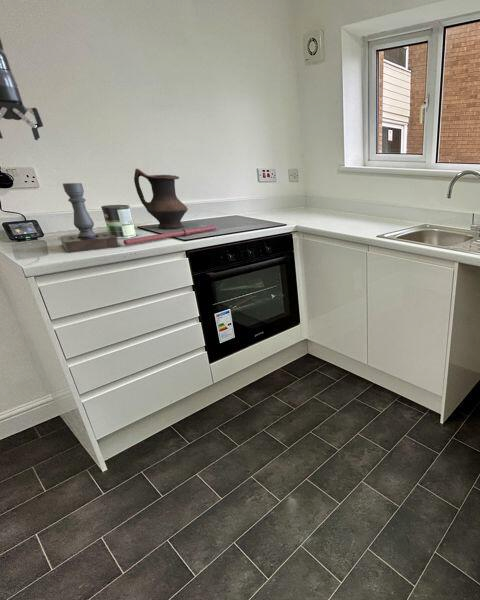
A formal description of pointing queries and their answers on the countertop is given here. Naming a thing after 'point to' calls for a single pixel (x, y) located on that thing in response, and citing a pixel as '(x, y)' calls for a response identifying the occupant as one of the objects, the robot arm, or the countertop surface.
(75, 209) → the candle holder
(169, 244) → the countertop surface
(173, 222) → the jug
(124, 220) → the coffee can
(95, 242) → the stand
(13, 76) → the robot arm
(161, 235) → the red rod
